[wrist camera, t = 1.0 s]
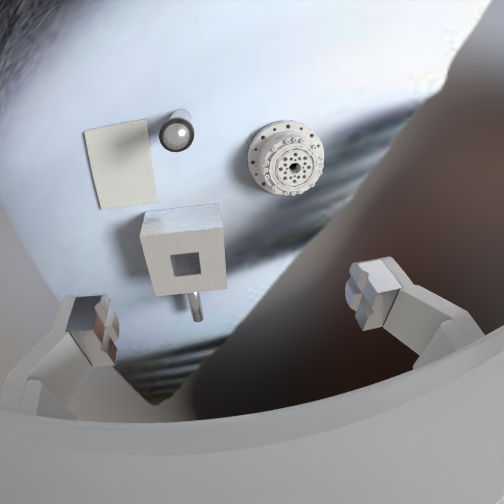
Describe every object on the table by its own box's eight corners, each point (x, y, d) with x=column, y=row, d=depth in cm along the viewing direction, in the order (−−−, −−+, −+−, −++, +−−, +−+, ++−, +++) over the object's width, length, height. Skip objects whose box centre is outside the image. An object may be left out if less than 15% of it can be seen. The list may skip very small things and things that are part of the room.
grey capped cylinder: (166, 107, 30) (156, 122, 23) (193, 104, 30) (192, 118, 23) (168, 132, 32) (160, 155, 25) (195, 129, 32) (195, 151, 25)
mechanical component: (248, 193, 39) (317, 187, 40) (254, 209, 36) (329, 201, 37) (245, 122, 33) (322, 119, 34) (251, 130, 30) (336, 127, 31)
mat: (85, 130, 29) (84, 131, 29) (147, 118, 30) (146, 119, 30) (102, 207, 36) (101, 209, 35) (158, 200, 37) (157, 202, 36)
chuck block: (145, 211, 38) (139, 236, 33) (218, 203, 39) (223, 227, 34) (169, 307, 49) (168, 335, 44) (225, 301, 51) (230, 328, 46)
